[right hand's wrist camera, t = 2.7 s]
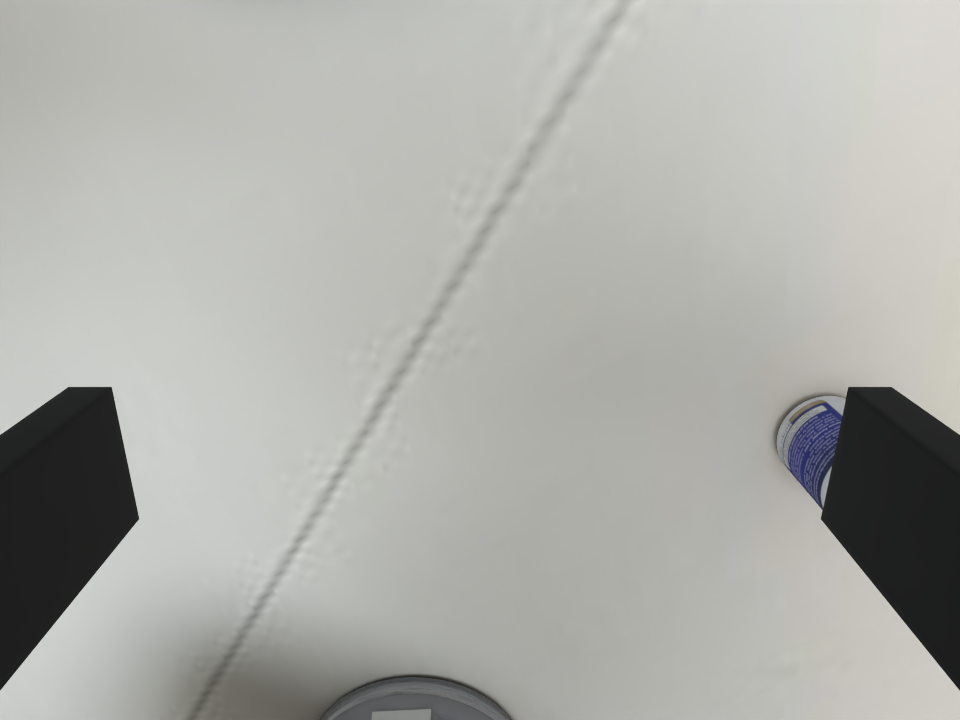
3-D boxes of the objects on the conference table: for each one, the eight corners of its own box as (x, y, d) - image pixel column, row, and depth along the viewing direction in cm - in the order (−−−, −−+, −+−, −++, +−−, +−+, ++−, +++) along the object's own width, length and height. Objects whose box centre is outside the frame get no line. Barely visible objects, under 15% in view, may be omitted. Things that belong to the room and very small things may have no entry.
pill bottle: (769, 476, 41) (843, 572, 33) (779, 395, 39) (860, 476, 31) (859, 472, 41) (957, 567, 32) (873, 391, 39) (980, 470, 31)
